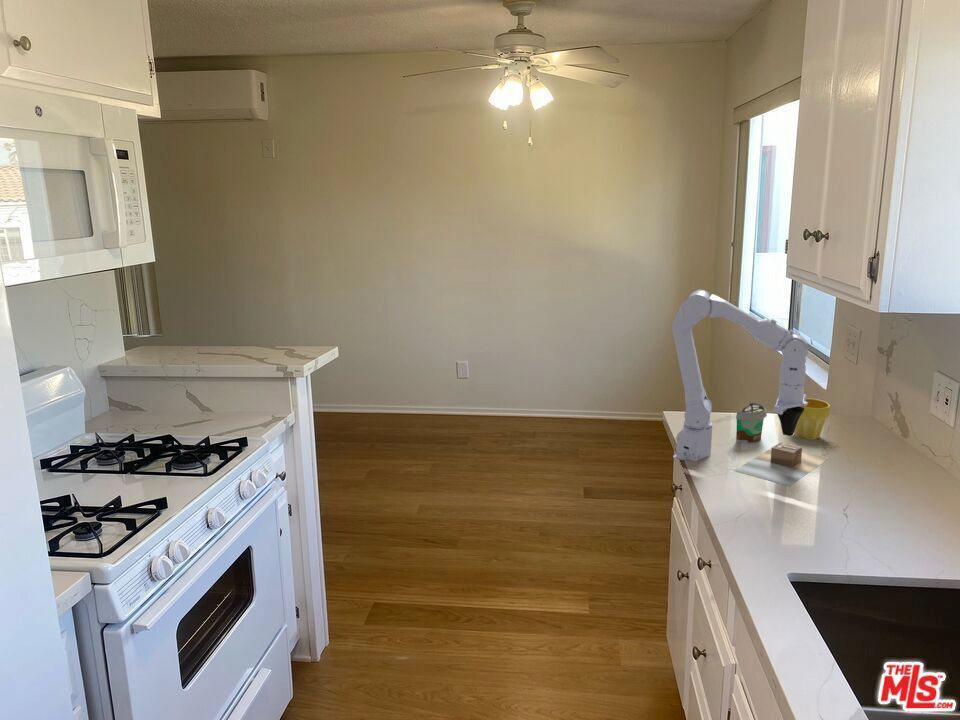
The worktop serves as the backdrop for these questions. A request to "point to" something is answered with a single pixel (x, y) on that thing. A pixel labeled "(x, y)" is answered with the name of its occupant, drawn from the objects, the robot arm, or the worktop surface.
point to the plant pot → (812, 419)
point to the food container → (750, 423)
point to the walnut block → (786, 454)
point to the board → (780, 468)
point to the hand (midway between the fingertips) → (787, 434)
